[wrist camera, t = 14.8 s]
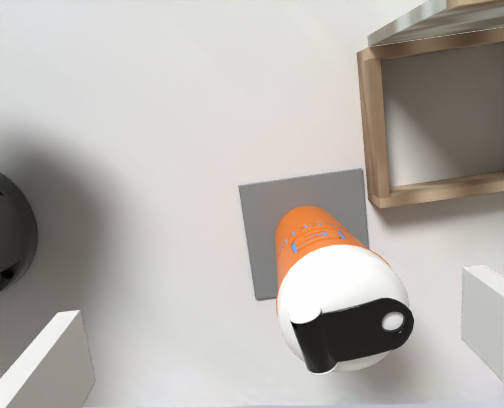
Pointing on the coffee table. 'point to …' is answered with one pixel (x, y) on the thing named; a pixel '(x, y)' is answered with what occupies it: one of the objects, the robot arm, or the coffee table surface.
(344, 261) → the shaker bottle
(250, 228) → the slate coaster
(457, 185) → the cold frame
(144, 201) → the coffee table surface
